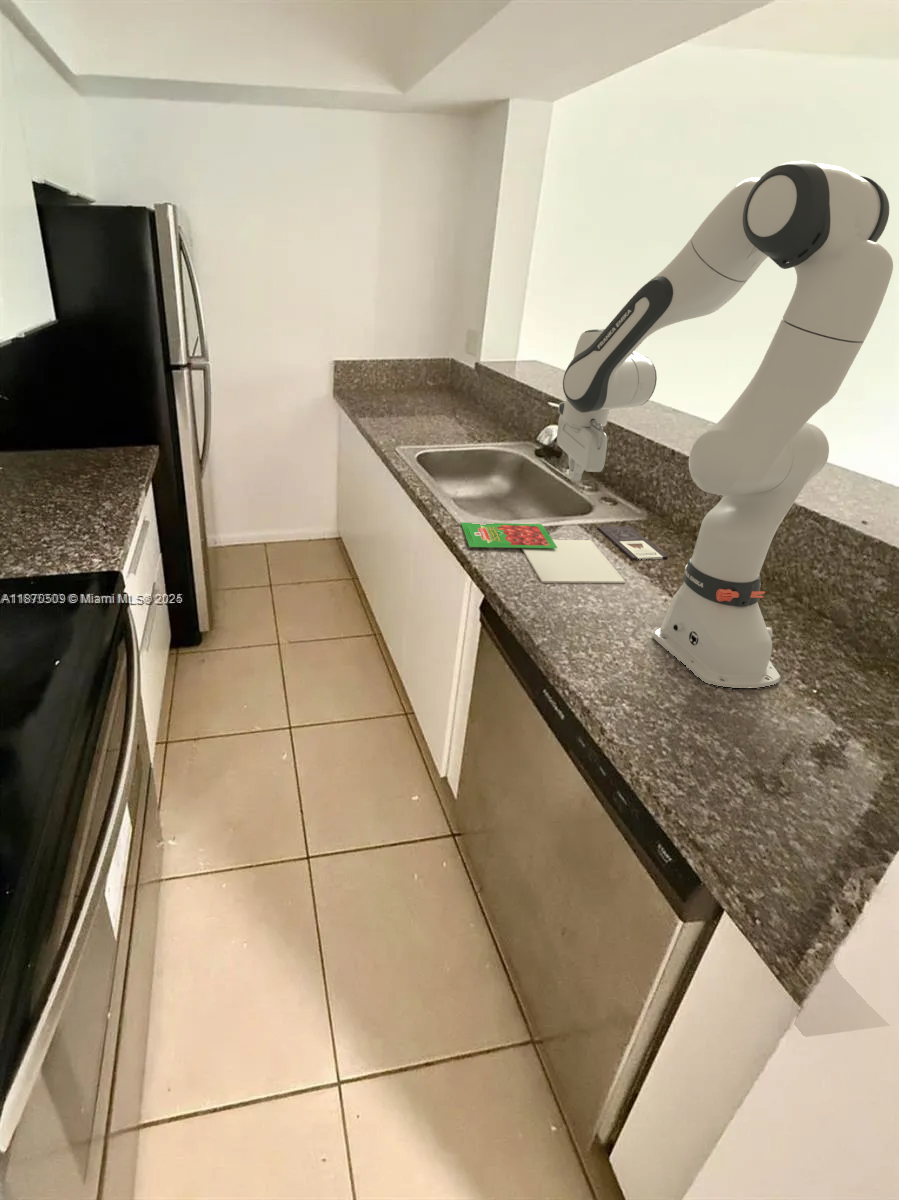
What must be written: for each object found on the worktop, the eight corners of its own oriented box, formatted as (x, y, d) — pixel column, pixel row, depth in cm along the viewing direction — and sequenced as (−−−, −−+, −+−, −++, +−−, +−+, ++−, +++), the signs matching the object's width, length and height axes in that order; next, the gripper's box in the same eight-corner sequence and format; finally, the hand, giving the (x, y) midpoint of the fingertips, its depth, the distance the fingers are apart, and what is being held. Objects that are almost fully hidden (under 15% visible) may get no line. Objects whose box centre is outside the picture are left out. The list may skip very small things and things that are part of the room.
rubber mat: (624, 583, 135) (625, 581, 135) (541, 582, 132) (542, 581, 132) (590, 541, 153) (590, 540, 153) (516, 540, 150) (517, 539, 150)
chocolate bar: (630, 526, 163) (668, 556, 148) (629, 529, 164) (667, 560, 148) (597, 526, 161) (632, 557, 146) (597, 530, 161) (631, 561, 146)
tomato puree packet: (557, 545, 145) (469, 544, 143) (557, 550, 146) (469, 549, 143) (541, 522, 159) (460, 520, 156) (541, 526, 159) (460, 524, 157)
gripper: (620, 427, 124) (605, 496, 130) (584, 403, 141) (573, 465, 148) (588, 426, 123) (576, 495, 129) (556, 402, 140) (546, 464, 147)
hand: (574, 479), depth 139 cm, fingers closed
